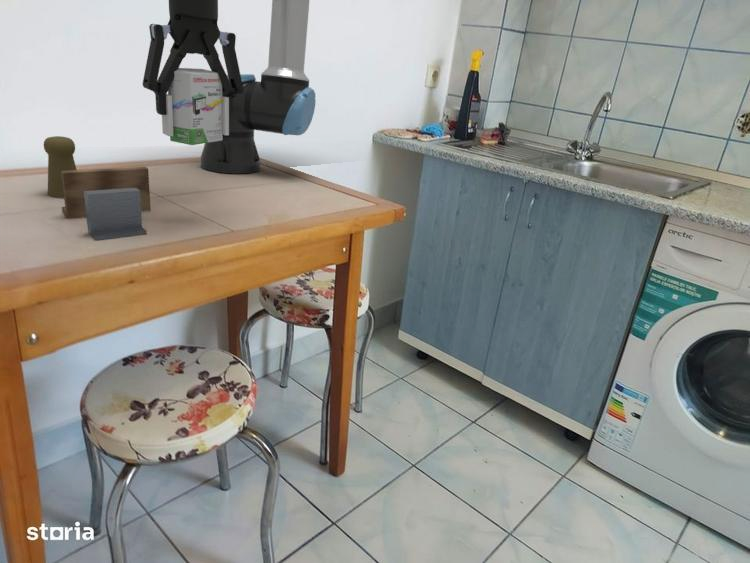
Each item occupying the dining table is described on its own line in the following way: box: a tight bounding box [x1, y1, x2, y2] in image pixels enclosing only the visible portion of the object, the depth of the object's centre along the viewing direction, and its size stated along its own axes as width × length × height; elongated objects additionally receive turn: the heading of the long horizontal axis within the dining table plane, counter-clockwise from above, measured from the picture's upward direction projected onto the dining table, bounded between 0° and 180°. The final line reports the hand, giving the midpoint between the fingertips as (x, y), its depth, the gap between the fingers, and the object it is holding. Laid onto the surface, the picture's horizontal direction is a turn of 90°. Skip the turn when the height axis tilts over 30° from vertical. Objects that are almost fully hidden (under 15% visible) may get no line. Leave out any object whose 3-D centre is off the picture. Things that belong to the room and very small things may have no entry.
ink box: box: [167, 67, 223, 146], centre depth 93 cm, size 8×5×12 cm, turn 157°
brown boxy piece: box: [61, 166, 152, 219], centre depth 98 cm, size 14×4×8 cm, turn 130°
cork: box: [43, 135, 78, 199], centre depth 104 cm, size 6×6×11 cm
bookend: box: [84, 188, 148, 241], centre depth 88 cm, size 8×4×7 cm, turn 130°
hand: (196, 134), depth 94 cm, fingers closed on ink box, 9 cm apart
